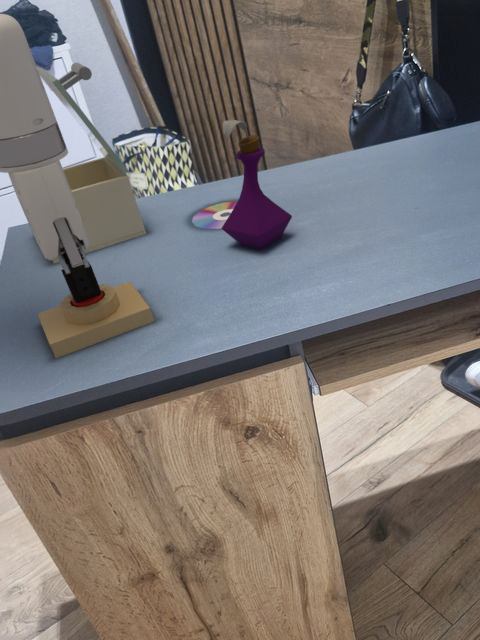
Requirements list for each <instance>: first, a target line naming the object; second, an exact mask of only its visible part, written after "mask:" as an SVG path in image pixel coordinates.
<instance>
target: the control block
mask: <svg viewBox="0 0 480 640" xmlns="http://www.w3.org/2000/svg"><path fill="white" fill-rule="evenodd" d="M98 285H99V287H100V290H101V291H102V293H103V296H104V298H103V299H102V300H100V301H99V302H97V303H95V304H92V305H89V306H86V307H74V305H73V302H72V299H73V297H72V294H71V293H70V294H67V296H65V297H64V298H63V299H62V300H61V302H60V303H59V306H55V307H53V308H50V309H46V310H44V311H41V312H38V313H37V318H38V319H39V322H40V324H41V327H42V329H43V332H44V334H45V337H46V339H47V342H48V345H49V346H50V349H51V350H52V353H53V355H54V357H55V359H58V358H61V357H64V356H66V355H69V354H72V353H74V352H77V351H80V350H82V349H85V348H88V347H91V346H94V345H95V344H99V343H101V342H104V341H106V340H109V339H112V338H115V337H117V336H119V335H122V334H125V333H128V332H130V331H133V330H135V329H138V328H141V327H144V326H146V325H149V324H151V323H154V322H155V318H154V316H153V313H152V309H151V307H150V305H149V304H148V303H147V301H146V300H145V299H144V298H143V296H142V295H141V294H140V293H139V290H137V288H136V287H135V286H134V284H133V283H132V281H127V282H124V283H122V284H121V283H120V284H118V285H115V286H111V285H106V284H98Z"/></svg>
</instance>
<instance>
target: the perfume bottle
mask: <svg viewBox="0 0 480 640" xmlns="http://www.w3.org/2000/svg"><path fill="white" fill-rule="evenodd" d="M236 126H238V127H239V128H240V129H241V130H243V131H244V133H245V137H243V138H241V139H240V140H239V142H238V147H239V150H238V151H237V152H236V155H235V158H236V159H237V160H239V161H240V162H241V163H242V165H243V181H242V186H241V192H240V195H239V197H238V199H237V201H238V202H237V203H236V205H235V207H234V209H233V211H232V212H231V213H229V215H230V216H229V215H228V216H229V217H228V219H227V220H226V222H225V223H224V225H223V227H222V228H221V230H222V231H224V232H225V233H226V234H227V235H229V237H231V238H232V239H233V240H235V241H236V242H237V243H238V244H239V245H240V246H243V247H248V248H251V249H256V250H265V249H266V248H268V247H269V246H271V245H273V244H274V243H275V242H278V240H280V239H282V236H283V235H284V232H285V231H286V229H287V227H288V225H289V223H290V222H291V220H292V218H293V216H292V214H290V213H289V212H288V211H287V210H285V209H283V207H281V206H279V205H278V204H277V203H276V202H274V201H273V200H271V198H269V197H268V196H266V195H265V193H264V192H263V190H262V189H261V186H260V183H259V175H258V173H259V172H258V169H259V163H260V161H261V158H262V157H263V156H265V153H266V151H265V148H263V147H260V146H259V145H260V144H259V143H260V136H259V135H256V134H251V135H249V134H248V125H247V123H246V122H244V121H240V120H237V119H229V120H228V119H227V120H224V121H223V122H222V133H223V136H224V137H225V139H226V140H227V141H229V140H230V137H231V134H232V132H233V130H234V128H235V127H236Z"/></svg>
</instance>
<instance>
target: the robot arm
mask: <svg viewBox="0 0 480 640" xmlns="http://www.w3.org/2000/svg"><path fill="white" fill-rule="evenodd" d="M30 48H31V47H30V45H29V43H28V40H27V37H26V34H25V32H24V29H23V28H22V26H21V25H20V23H19V22H18V21H17V20H16V18H14V16H11V15H9V14H6V13H0V173H2V174H3V173H6V174H8V177H9V180H10V182H11V185H12V187H13V191H14V193H15V195H16V198H17V200H18V202H19V205H20V207H21V210H22V211H23V213H24V216H25V219H26V220H27V223H28V225H29V227H30V230H31V232H32V234H33V236H34V237H33V238H34V239H35V241H36V244H37V245H38V247H39V249H40V251H41V253H42V255H43V257H44V258H45V259H46V260H47V261H52V260H53V257H58V259H59V261H60V262H59V263H60V266H61V269H60V271H61V273H62V276H63V277H64V280H65V283H66V285H67V288H68V291H69V292H70V294H72V297H73V298H74V300H75V302H76V303H79V302H82V301H85V300H88V299H91V298H94V297H97V296H99V295H101V290H100V287H99V285H100V284H99V282H98V280H97V277H96V275H95V272H94V269H93V267H92V265H91V263H90V261H88V258H87V255H86V253H84V250H83V247H84V248H85V249H87V247H88V246H89V241H88V238H87V235H86V232H85V228H84V225H83V222H82V219H81V217H80V214H79V211H78V208H77V205H76V202H75V200H74V197H73V194H72V192H71V189H70V186H69V184H68V181H67V178H66V176H65V173H64V171H63V168H64V167H63V166H62V163H61V160H62V159H64V158H65V157H66V156H67V155H68V154H69V149H68V148H67V145H66V142H65V139H64V136H63V133H62V131H61V129H60V126H59V123H58V121H57V118H56V115H55V112H54V110H53V107H52V104H51V102H50V99H49V96H48V93H47V91H46V88H45V85H44V83H43V80H42V77H41V76H40V74H39V72H38V69H39V68H38V67H37V64H36V61H35V59H34V56H33V53H32V50H31V49H30Z"/></svg>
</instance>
